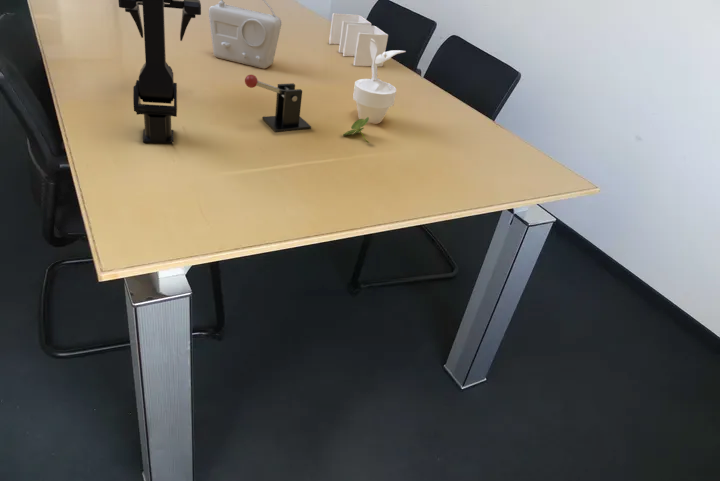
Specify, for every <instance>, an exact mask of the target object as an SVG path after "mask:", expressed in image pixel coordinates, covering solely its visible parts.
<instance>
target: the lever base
mask: <svg viewBox="0 0 720 481" xmlns="http://www.w3.org/2000/svg"><path fill="white" fill-rule="evenodd" d="M284 87H287V88H290V89H293V90H285V93H284V98H283V97H282V96H281V95H282V94H280V93H277V92H276V102H275V114H274V115H270V116H269V115H267V116H262V118H261V120H262V121H263V122H264V123H265V124H266V125H267V126H268V127H269V128H270V129H271V130H272V131H273V132H274V133H285V132H295V131H297V132H298V131H305V130H307V131H308V130H311V129H312V126H311V125H310V124H309V123H308V122H307V121H306V120H304V119H303V117H302V116H301V107H302V99H303V90H302V89H300V88H298V89H297V88H296V84H295V83H293V82H292V83H278V84H277V88H280V89H283V90H284Z"/></svg>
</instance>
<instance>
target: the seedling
mask: <svg viewBox="0 0 720 481" xmlns="http://www.w3.org/2000/svg"><path fill="white" fill-rule="evenodd" d="M368 120H369V117H367V118H366V119H365V120H364V119H359V118H358V119H357V120H355V121H354V123H352V125H351V130H348V131H346V132H344V133H343V134H342V136H348V135H356V134H358V133H360V134H361V136H362V137H363V139H364V141H365V142H367V143H369V144H370V142H369V141H368V140H367V139H366V138H365V136H364V134H363V132H362V131H363V130H364V126H366V125H367V124H368V123H367V122H368Z"/></svg>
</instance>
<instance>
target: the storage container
mask: <svg viewBox="0 0 720 481" xmlns="http://www.w3.org/2000/svg"><path fill="white" fill-rule="evenodd" d="M329 31H330V32H329V39H328V44H329V45H339V46H338V53H339V54H341V53H342V57H354V58H353V66H354V67H372V63H373V61H372V57H371V53H370V42H371V40H370V39H373V40H375V42H376V44H377V46H378V53H377V56H378V55H380V53H381V52H383V53H384V52H386V50H387V44H388V41H386V42H385V44H384V47H383V43H382V42H381V41H380V40H382V39H383V38H384V35H385V38H386V40H388V39H389V34H388V33H386V32H384V31H383V30H382V29H380V28H379V27H378V26H375V25H372V23H371V22H370V21H369V20H368V19H366V18H364V17H363V16H362V15H360V14H349V13H333V12H332V16H331V23H330V30H329ZM383 66H384V62H383V63H381V64H377V67H383Z"/></svg>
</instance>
